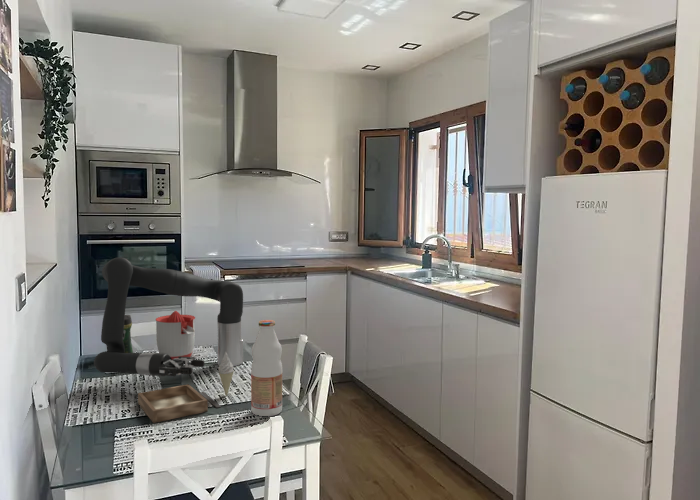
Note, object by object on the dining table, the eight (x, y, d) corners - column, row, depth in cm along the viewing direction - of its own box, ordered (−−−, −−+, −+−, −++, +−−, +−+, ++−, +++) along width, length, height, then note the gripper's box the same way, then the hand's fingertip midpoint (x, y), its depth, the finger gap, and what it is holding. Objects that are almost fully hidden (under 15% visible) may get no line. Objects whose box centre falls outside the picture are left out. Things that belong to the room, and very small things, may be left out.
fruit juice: (256, 419, 153) (255, 325, 151) (247, 408, 161) (247, 319, 159) (286, 414, 157) (286, 323, 155) (276, 404, 165) (276, 317, 164)
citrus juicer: (175, 366, 204) (174, 316, 203) (148, 359, 214) (147, 311, 213) (206, 357, 218) (206, 310, 216) (179, 351, 227) (178, 306, 226)
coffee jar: (133, 356, 218) (133, 312, 217) (131, 361, 211) (131, 316, 210) (108, 358, 215) (107, 313, 214) (105, 363, 208) (104, 317, 207)
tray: (202, 391, 176) (202, 381, 176) (222, 408, 161) (222, 397, 161) (138, 404, 164) (138, 393, 164) (153, 423, 149) (153, 411, 149)
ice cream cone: (219, 393, 175) (219, 349, 174) (235, 392, 175) (234, 349, 174) (217, 398, 170) (216, 353, 169) (232, 398, 170) (232, 353, 169)
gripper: (141, 359, 169) (188, 362, 166) (164, 348, 183) (207, 350, 180) (142, 381, 170) (188, 385, 167) (164, 369, 184) (207, 371, 181)
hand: (198, 367), depth 174 cm, fingers open, 8 cm apart
